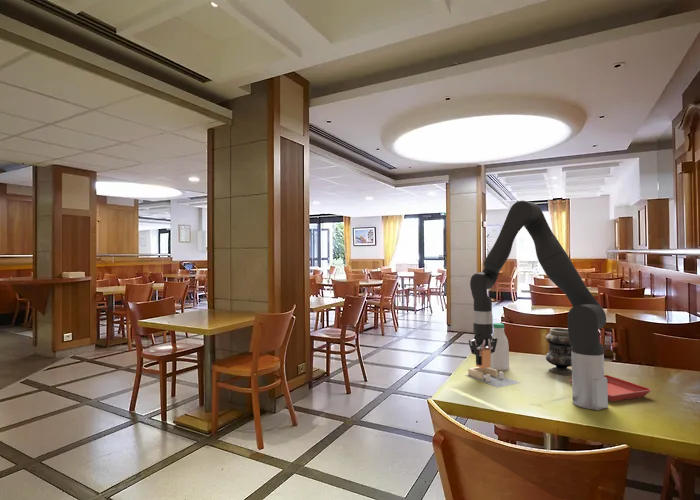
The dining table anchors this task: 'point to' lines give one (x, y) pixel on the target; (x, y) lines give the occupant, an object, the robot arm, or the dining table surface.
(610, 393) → the plant saucer
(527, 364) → the dining table surface
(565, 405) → the dining table surface
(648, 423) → the dining table surface
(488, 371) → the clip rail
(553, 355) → the carved stone vase
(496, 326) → the milk bottle
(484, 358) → the orange rectangular block
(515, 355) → the dining table surface
